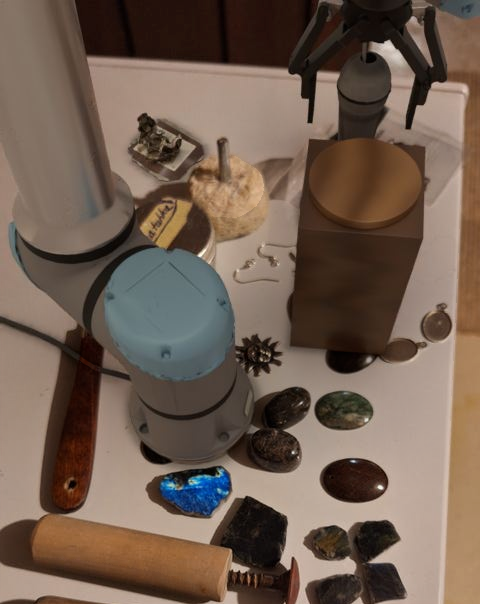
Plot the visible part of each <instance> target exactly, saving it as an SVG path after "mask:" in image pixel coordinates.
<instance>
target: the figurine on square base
mask: <svg viewBox="0 0 480 604" xmlns="http://www.w3.org/2000/svg"><path fill="white" fill-rule="evenodd" d="M136 121H137V122H138V127H137V131H138V133H139V135H138V136H137V137H136V138H135V139H133V141H131V142H130V143H129V145H128V147H127V150H128V152H129V153H130V154H131V160H132V161H134V162H136V163H137V166H139V167H141V168H143V169H144V171H145V172H147V173H148V174H150V175H153V176H154V177H156V179H157V180H158V181H167V182H169V181H172V180H181V179H183V178H184V177H185V175H186V174H187V172H188V170H189V169H190V168H191V167H192V166H193V165H194V164H195V163H198V162H200V161H202V160H203V158H204V156H205V153H204V149H203V145H202V144H201V142H200V140H199V138H197V137H196V136H194V135H193V134H191V132H188V131H187V130H186V129H185V128H183V127H180V126H179V125H177V124H176V123H174V122H171V121H169V120H168V118H157V119H156V120H155V119H154V118H153V117H151V116H150V115H148V113H147V112H143V113H141V114H140V115H139V116H137V119H136Z"/></svg>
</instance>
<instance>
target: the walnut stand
mask: <svg viewBox="0 0 480 604" xmlns="http://www.w3.org/2000/svg"><path fill="white" fill-rule="evenodd" d="M338 142H341V141H338V139H337V140H336V139H335V140H334V139H321V138H308V142H307V143H308V144H307V150H306V151H307V152H306V159H305V165H304V166H305V167H304V175H303V182H302V183H303V184H302V191H301V196H302V199H301V207H300V215H299V214H298V222H297V223H298V225H297V237H296V247H295V248H296V250H295V252H296V253H295V264H294V265H295V266H294V278H293V291H292V307H291V322H290V323H291V324H290V336H289V337H290V338H289V347H292V348H293V347H294V348H296V347H297V348H304V349H315V350H326V351H336V352H344V353H345V352H347V353H356V354H366V355H377V356H385V354H386V350H387V346H388V344H389V341H390V340H391V339H390V338H391V335H392V332H393V330H394V326H395V324H396V321H397V318H398V314H399V312H400V309H401V307H402V303H403V299H404V297H405V294H406V292H407V288H408V285H409V282H410V279H411V275H412V273H413V271H414V268H415V265H416V261H417V260H418V259H417V258H418V255H419V252H420V250H421V247H422V244H423V241H424V231H425V230H424V229H425V227H424V225H425V186H426V185H425V184H426V182H425V181H426V179H425V178H426V146H425V145H411V144H397V143H395V144H394V143H392V144H393V145H395V146H397V147H399V148H401V149H402V150H403V151H405V152H406V153H407V154H408V155H409V156H410V157H411V158H412V159H413V160H414V161H415V163H416V165H417V166H418V169H419V171H420V175H421V183H422V184H421V190H420V193H419V197H418V200H417V202H416V204H415V206H414V207H413V209H412V210H411V211H410V212H409V213H408V214H407V215H406V216H405V217H404V218H402V219H401V220H399V221H397V222H396V223H393V224H391V225H388V226H385V227H381V228H375V229H358V228H351V227H347V226H344V225H341V224H338V223H336V222H334V221H332V220H331V219H329V218H327V217H326V216H325V215H324V214H322V213H321V212H320V211H319V210H318V209H317V207H316V206H315V204H314V203H313V201H312V199H311V196H310V193H309V187H308V185H309V173H310V169H311V166H312V164H313V162H314V161H315V159H316V158H317V157H318V155H319V154H320V153H322V152H323V151H324V150H325V149H327V148H328V147H330V146H332V145H333V144H336V143H338Z"/></svg>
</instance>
